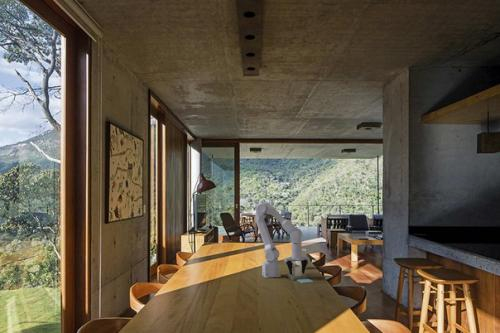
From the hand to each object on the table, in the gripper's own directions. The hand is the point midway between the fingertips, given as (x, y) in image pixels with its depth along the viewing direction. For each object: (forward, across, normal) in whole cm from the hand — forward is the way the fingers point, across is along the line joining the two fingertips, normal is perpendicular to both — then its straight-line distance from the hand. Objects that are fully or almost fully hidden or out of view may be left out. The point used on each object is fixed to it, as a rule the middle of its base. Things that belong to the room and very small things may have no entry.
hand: (297, 273), depth 228 cm
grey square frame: (+2, 0, 0) cm, 2 cm away
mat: (+2, +1, -10) cm, 10 cm away
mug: (+3, +12, +25) cm, 28 cm away
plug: (+2, 0, 0) cm, 2 cm away
